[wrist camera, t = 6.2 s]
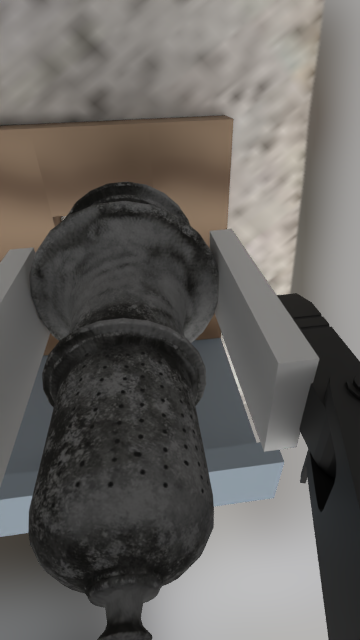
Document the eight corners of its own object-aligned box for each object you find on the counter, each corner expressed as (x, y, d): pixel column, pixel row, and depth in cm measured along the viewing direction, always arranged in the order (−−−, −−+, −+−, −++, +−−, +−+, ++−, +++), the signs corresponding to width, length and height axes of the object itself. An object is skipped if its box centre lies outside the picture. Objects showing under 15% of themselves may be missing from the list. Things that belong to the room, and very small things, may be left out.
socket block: (-48, 127, 23) (-65, 133, 21) (224, 115, 24) (233, 119, 22) (32, 340, 34) (27, 357, 32) (215, 322, 36) (220, 337, 34)
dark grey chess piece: (125, 132, 11) (82, 505, 1) (229, 251, 14) (453, 638, 4) (20, 250, 13) (-319, 762, 3) (131, 333, 16) (131, 732, 6)
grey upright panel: (20, 322, 33) (-61, 507, 19) (221, 303, 34) (284, 462, 20) (33, 356, 35) (-29, 540, 21) (219, 337, 37) (274, 497, 23)
